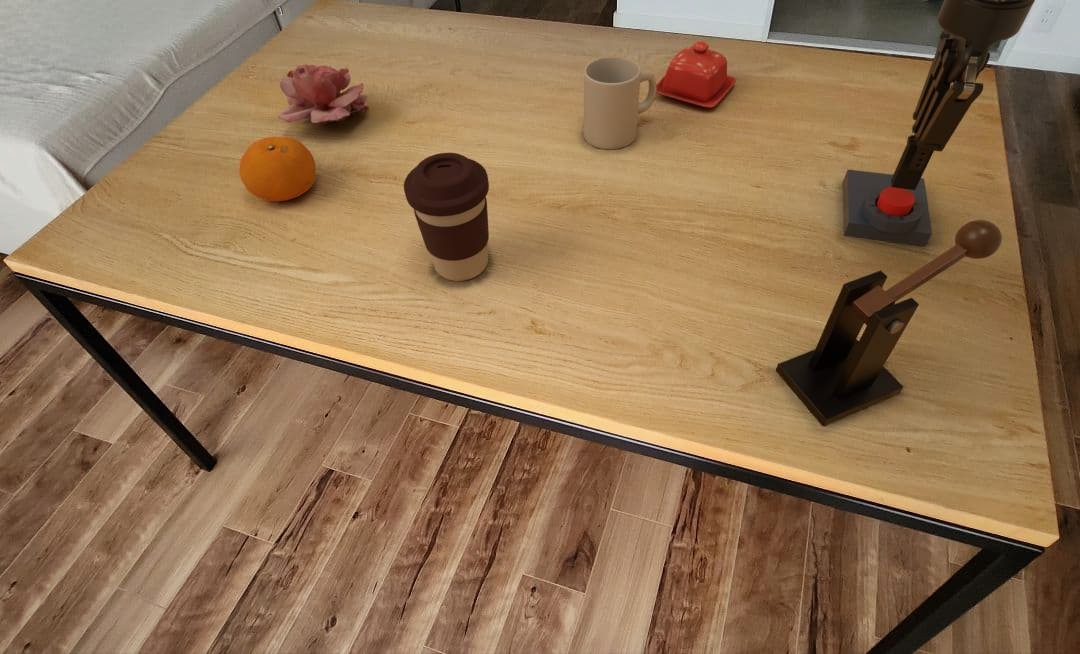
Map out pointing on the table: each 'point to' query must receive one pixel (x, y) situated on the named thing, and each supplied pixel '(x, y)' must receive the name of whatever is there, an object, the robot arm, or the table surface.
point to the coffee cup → (451, 213)
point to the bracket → (850, 356)
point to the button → (895, 201)
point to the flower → (320, 94)
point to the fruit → (277, 168)
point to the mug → (614, 101)
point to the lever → (934, 266)
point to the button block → (878, 225)
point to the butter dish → (697, 76)
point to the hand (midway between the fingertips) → (903, 185)
